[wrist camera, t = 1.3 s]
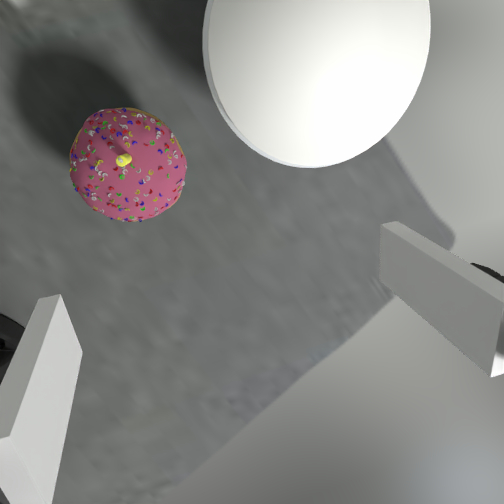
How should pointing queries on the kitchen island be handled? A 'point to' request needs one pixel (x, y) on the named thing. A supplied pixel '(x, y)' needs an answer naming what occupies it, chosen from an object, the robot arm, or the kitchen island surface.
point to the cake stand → (314, 72)
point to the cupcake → (127, 164)
